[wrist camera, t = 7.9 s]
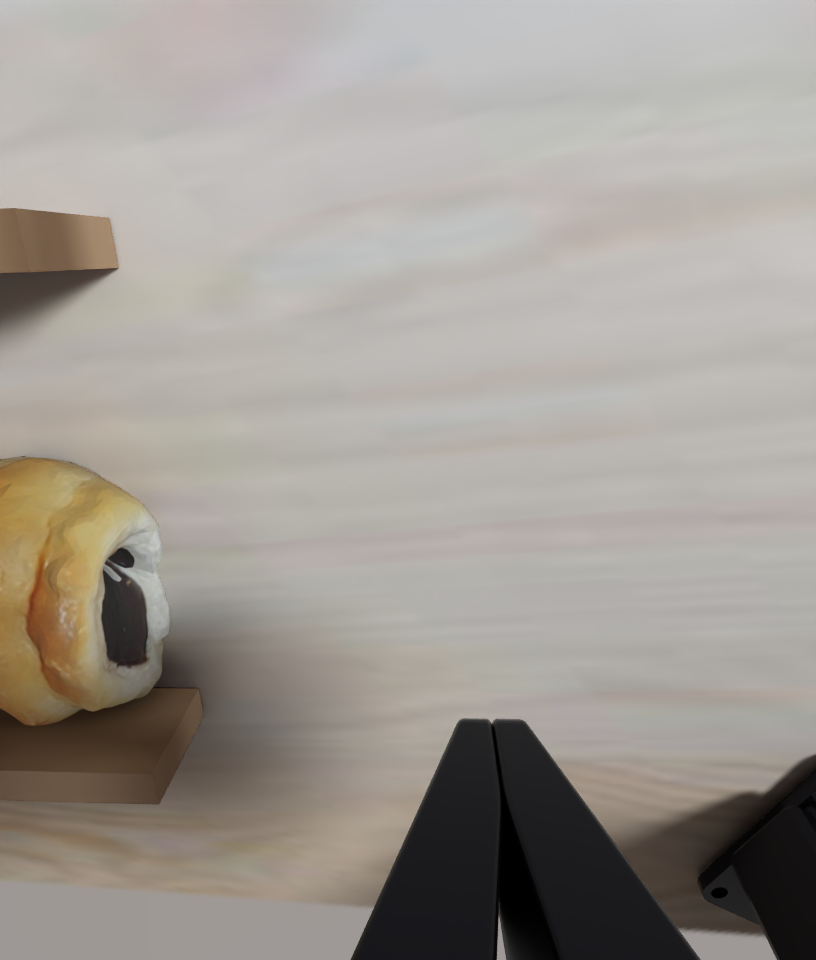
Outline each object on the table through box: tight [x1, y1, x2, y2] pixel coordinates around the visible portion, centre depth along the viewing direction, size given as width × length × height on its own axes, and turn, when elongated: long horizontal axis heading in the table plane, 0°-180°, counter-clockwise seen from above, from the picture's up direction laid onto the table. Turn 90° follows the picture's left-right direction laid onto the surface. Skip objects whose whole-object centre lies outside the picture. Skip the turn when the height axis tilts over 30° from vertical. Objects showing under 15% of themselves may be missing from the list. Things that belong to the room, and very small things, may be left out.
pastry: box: [0, 456, 170, 726], centre depth 14 cm, size 9×7×4 cm
